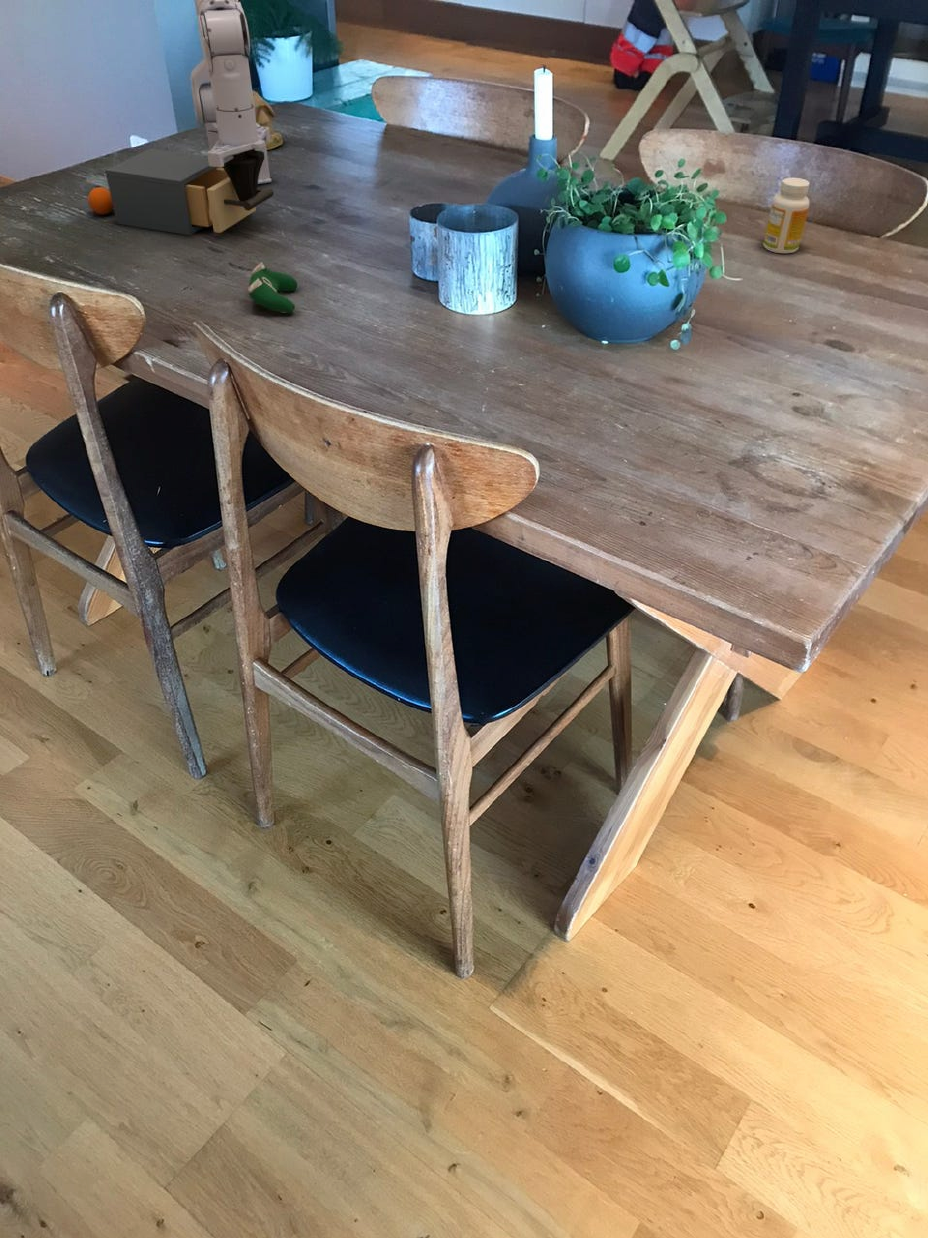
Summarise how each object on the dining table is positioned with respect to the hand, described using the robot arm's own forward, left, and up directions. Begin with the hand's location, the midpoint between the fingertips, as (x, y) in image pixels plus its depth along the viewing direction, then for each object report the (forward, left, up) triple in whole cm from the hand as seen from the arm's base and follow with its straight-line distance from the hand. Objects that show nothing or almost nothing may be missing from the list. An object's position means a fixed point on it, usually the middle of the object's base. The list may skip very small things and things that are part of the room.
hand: (248, 203), depth 145 cm
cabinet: (+9, -11, -4) cm, 15 cm away
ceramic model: (-16, -44, -4) cm, 48 cm away
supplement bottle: (-69, +46, -4) cm, 83 cm away
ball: (+19, -18, -2) cm, 26 cm away
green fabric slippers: (+7, +28, -4) cm, 29 cm away
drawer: (+4, -5, -3) cm, 7 cm away
